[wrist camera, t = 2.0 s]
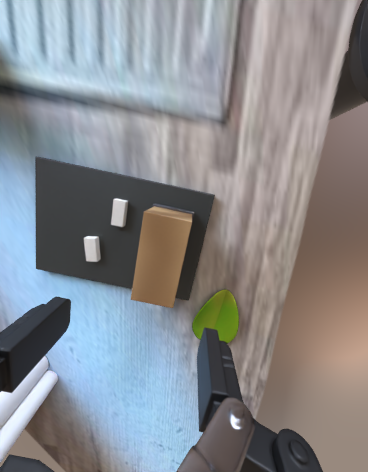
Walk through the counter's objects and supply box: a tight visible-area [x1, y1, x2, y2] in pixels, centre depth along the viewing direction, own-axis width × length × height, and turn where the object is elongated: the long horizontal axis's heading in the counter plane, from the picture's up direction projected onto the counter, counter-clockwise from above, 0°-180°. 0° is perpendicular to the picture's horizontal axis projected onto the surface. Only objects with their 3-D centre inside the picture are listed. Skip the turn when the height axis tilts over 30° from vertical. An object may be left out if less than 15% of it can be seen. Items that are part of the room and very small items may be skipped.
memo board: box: [36, 157, 215, 300], centre depth 25 cm, size 22×15×1 cm
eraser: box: [131, 203, 194, 308], centre depth 21 cm, size 5×10×6 cm, turn 168°
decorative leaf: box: [192, 290, 239, 343], centre depth 28 cm, size 8×9×1 cm
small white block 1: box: [84, 236, 101, 262], centre depth 24 cm, size 2×3×1 cm, turn 178°
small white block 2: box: [111, 199, 128, 227], centre depth 23 cm, size 2×3×1 cm, turn 168°
